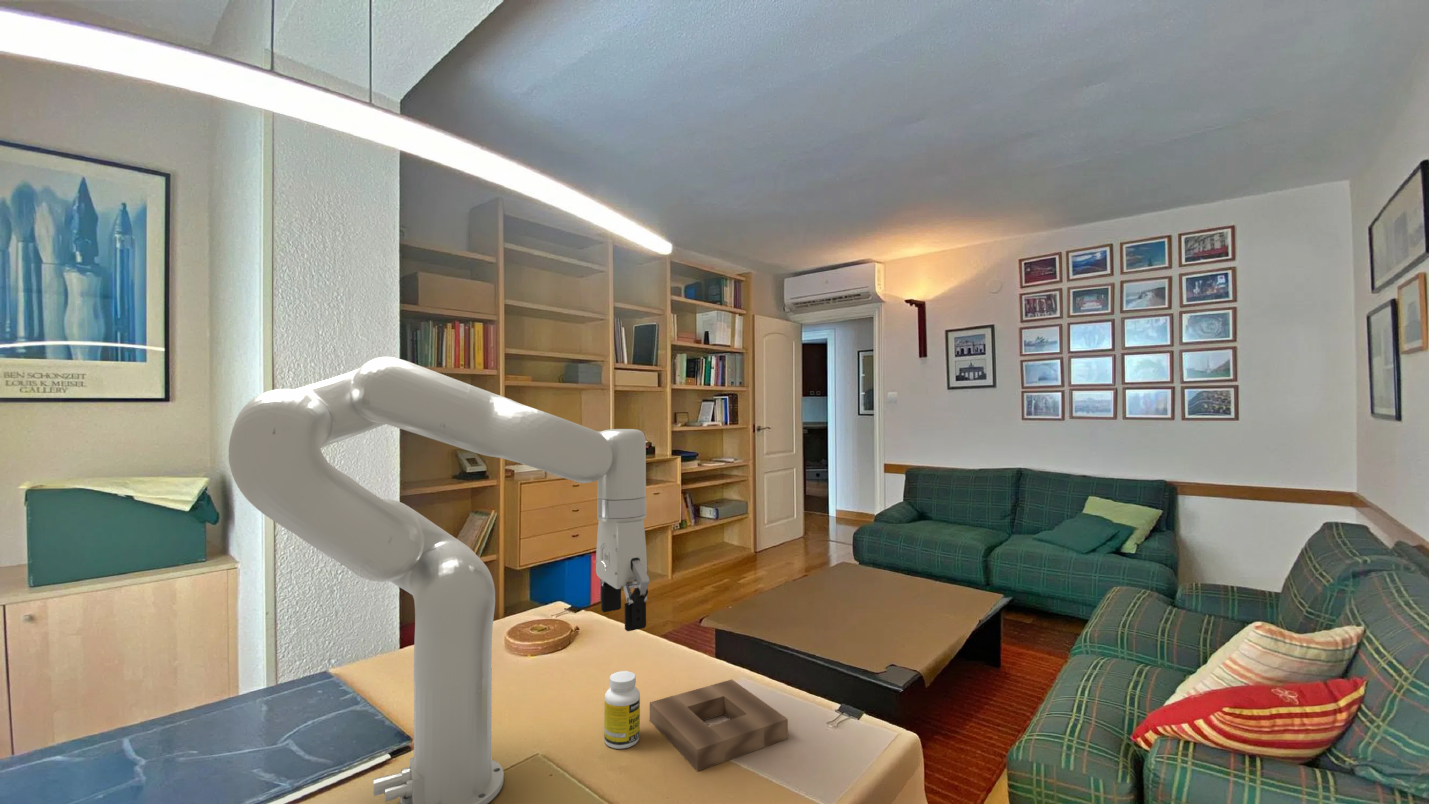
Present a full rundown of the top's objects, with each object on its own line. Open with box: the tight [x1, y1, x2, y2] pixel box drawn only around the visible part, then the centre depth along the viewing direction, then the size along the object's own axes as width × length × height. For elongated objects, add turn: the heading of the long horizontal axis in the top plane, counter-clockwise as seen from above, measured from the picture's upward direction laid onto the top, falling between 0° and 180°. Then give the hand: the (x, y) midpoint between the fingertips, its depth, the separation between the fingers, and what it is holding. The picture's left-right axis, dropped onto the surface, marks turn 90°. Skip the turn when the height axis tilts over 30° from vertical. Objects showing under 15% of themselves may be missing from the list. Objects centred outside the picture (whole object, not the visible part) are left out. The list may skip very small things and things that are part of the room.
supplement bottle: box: [603, 670, 641, 750], centre depth 92 cm, size 5×5×10 cm
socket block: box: [649, 679, 789, 772], centre depth 94 cm, size 16×16×3 cm
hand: (622, 619), depth 92 cm, fingers open, 9 cm apart
